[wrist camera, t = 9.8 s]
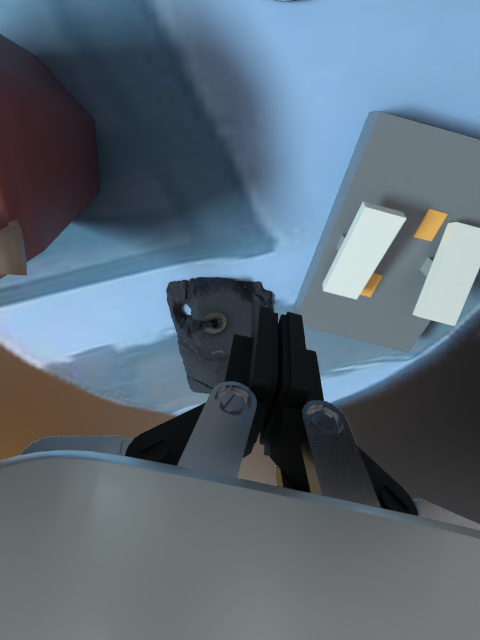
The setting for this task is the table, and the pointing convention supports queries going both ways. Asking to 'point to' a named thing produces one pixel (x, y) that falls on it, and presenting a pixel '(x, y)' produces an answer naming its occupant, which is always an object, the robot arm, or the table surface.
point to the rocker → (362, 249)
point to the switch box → (413, 237)
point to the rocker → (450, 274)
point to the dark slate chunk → (212, 323)
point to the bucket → (39, 158)
